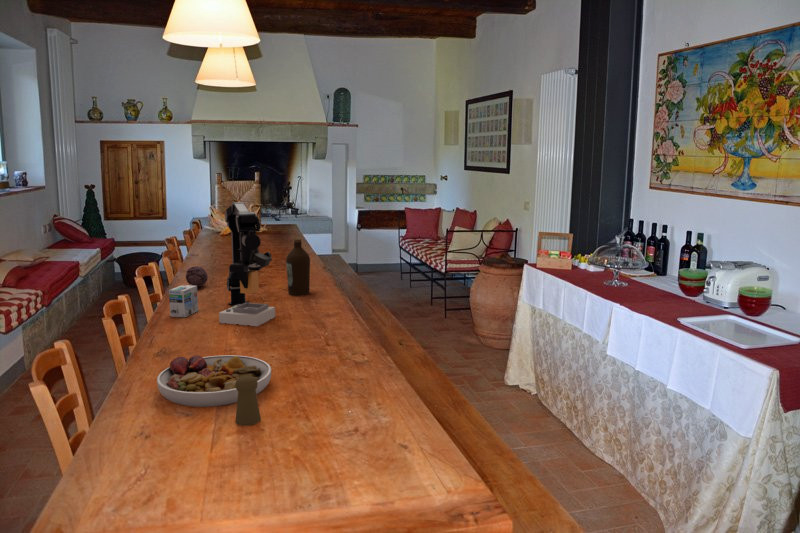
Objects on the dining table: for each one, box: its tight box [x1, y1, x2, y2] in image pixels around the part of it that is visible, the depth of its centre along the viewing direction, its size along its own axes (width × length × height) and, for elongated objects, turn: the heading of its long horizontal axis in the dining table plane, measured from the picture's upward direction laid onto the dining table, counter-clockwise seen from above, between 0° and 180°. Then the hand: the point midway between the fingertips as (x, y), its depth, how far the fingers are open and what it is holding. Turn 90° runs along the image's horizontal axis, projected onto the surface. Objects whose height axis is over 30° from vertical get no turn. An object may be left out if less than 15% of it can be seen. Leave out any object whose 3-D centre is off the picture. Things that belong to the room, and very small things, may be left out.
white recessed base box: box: [218, 302, 276, 327], centre depth 246 cm, size 14×16×6 cm
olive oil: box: [285, 238, 311, 297], centre depth 289 cm, size 11×11×25 cm
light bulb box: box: [168, 284, 199, 318], centre depth 255 cm, size 11×7×11 cm, turn 168°
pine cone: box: [185, 265, 209, 287], centre depth 303 cm, size 18×10×10 cm, turn 21°
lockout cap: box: [240, 270, 260, 295], centre depth 244 cm, size 5×5×8 cm
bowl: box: [156, 354, 272, 408], centre depth 176 cm, size 30×30×8 cm
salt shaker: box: [234, 376, 262, 427], centre depth 155 cm, size 6×6×11 cm
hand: (249, 286), depth 244 cm, fingers closed on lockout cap, 5 cm apart
